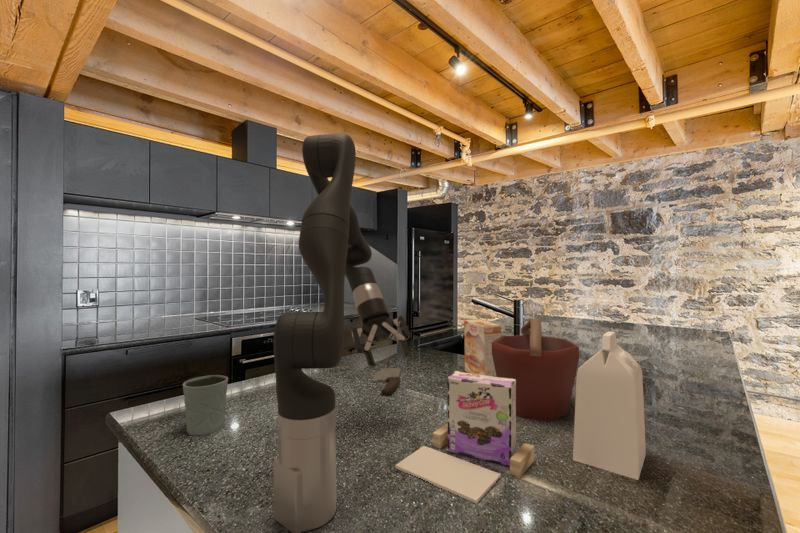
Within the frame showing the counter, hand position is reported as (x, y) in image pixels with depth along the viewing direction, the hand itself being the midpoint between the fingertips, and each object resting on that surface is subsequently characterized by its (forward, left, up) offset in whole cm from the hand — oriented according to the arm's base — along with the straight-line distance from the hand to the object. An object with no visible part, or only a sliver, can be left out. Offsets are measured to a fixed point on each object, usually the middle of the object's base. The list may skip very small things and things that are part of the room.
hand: (390, 361), depth 90 cm
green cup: (-27, +39, -18) cm, 50 cm away
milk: (+19, -44, -18) cm, 51 cm away
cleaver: (+29, +27, -18) cm, 44 cm away
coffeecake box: (+55, +3, -18) cm, 58 cm away
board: (-7, -20, -17) cm, 27 cm away
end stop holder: (+4, -22, -17) cm, 28 cm away
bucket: (+36, -23, -18) cm, 46 cm away
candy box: (+4, -22, -18) cm, 28 cm away
